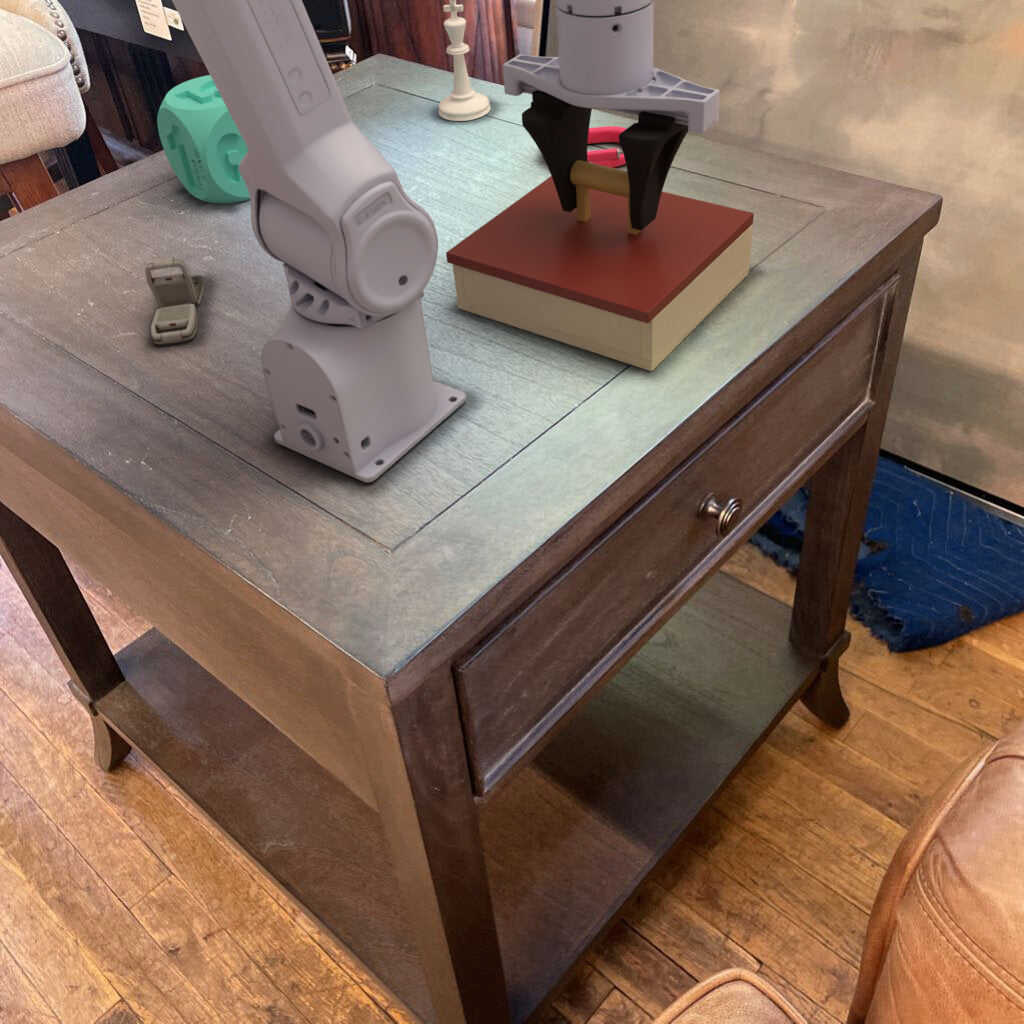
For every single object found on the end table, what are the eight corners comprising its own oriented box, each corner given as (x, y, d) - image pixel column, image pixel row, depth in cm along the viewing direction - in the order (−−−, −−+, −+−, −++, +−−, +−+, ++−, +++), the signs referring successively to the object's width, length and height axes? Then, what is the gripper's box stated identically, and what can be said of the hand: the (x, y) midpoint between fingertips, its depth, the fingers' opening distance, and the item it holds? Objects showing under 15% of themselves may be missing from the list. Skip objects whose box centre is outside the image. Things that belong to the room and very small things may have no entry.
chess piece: (484, 121, 99) (473, 7, 92) (432, 121, 100) (417, 8, 93) (495, 99, 102) (485, -12, 95) (445, 99, 103) (432, -11, 96)
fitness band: (545, 174, 90) (544, 157, 89) (542, 145, 94) (541, 128, 93) (642, 166, 89) (642, 149, 88) (635, 137, 94) (635, 120, 92)
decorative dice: (173, 185, 94) (145, 94, 88) (252, 154, 97) (229, 64, 92) (218, 213, 89) (191, 119, 84) (299, 180, 93) (278, 87, 87)
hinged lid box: (651, 372, 68) (652, 320, 65) (457, 308, 75) (451, 260, 73) (749, 273, 76) (753, 224, 73) (564, 224, 83) (562, 178, 80)
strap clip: (195, 342, 75) (178, 289, 72) (152, 348, 75) (133, 295, 72) (206, 280, 81) (190, 229, 78) (166, 285, 81) (149, 234, 78)
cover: (648, 324, 65) (648, 251, 62) (446, 262, 72) (437, 195, 69) (753, 223, 73) (758, 154, 70) (562, 177, 80) (559, 113, 77)
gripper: (748, -6, 62) (734, 211, 71) (541, -33, 69) (553, 168, 78) (689, 35, 58) (682, 260, 67) (475, 2, 65) (495, 210, 74)
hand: (609, 214), depth 72 cm, fingers closed on cover, 5 cm apart
